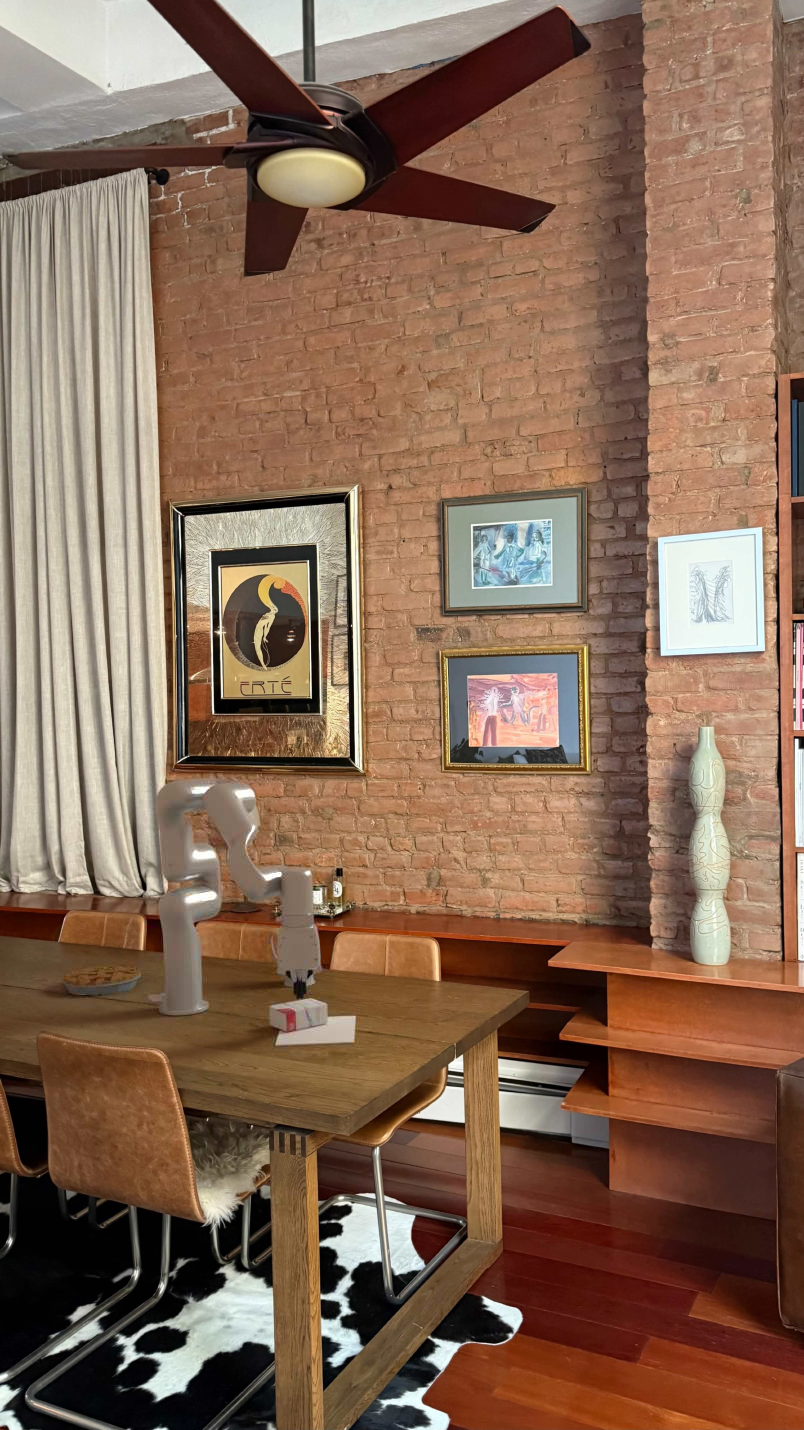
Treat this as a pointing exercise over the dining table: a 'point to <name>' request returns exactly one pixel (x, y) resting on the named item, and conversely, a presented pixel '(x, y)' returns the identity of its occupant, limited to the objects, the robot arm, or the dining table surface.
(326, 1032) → the mat
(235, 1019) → the dining table surface
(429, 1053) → the dining table surface
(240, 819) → the robot arm
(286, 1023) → the ink box
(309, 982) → the tall grey black mug
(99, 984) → the pie
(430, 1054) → the dining table surface
